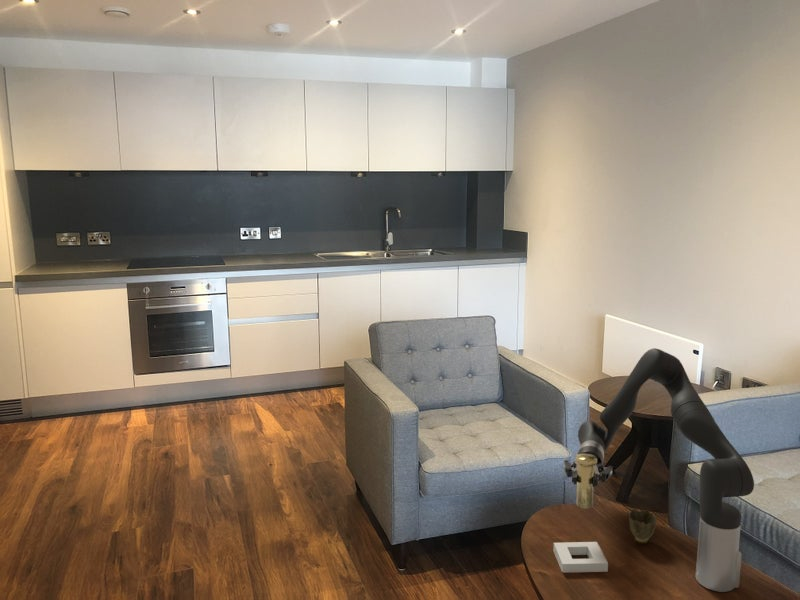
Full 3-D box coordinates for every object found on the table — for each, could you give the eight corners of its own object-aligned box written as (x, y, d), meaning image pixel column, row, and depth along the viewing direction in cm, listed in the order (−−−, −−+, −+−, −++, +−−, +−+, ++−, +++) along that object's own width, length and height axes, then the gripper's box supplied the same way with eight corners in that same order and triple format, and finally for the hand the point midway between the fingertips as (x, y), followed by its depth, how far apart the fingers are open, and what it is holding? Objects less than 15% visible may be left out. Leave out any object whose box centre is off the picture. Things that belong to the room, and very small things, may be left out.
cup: (651, 534, 192) (652, 508, 190) (658, 548, 184) (660, 522, 183) (624, 533, 192) (626, 508, 191) (631, 547, 185) (632, 521, 184)
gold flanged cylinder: (591, 499, 188) (593, 453, 186) (597, 509, 183) (599, 462, 180) (571, 499, 188) (573, 453, 186) (576, 510, 183) (578, 462, 180)
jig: (596, 549, 184) (596, 541, 184) (607, 571, 175) (608, 563, 174) (553, 550, 184) (553, 542, 184) (562, 572, 175) (562, 564, 174)
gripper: (566, 442, 199) (558, 466, 183) (616, 448, 194) (612, 473, 178) (565, 465, 200) (557, 491, 185) (614, 472, 195) (611, 499, 180)
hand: (584, 482), depth 182 cm, fingers closed on gold flanged cylinder, 4 cm apart
